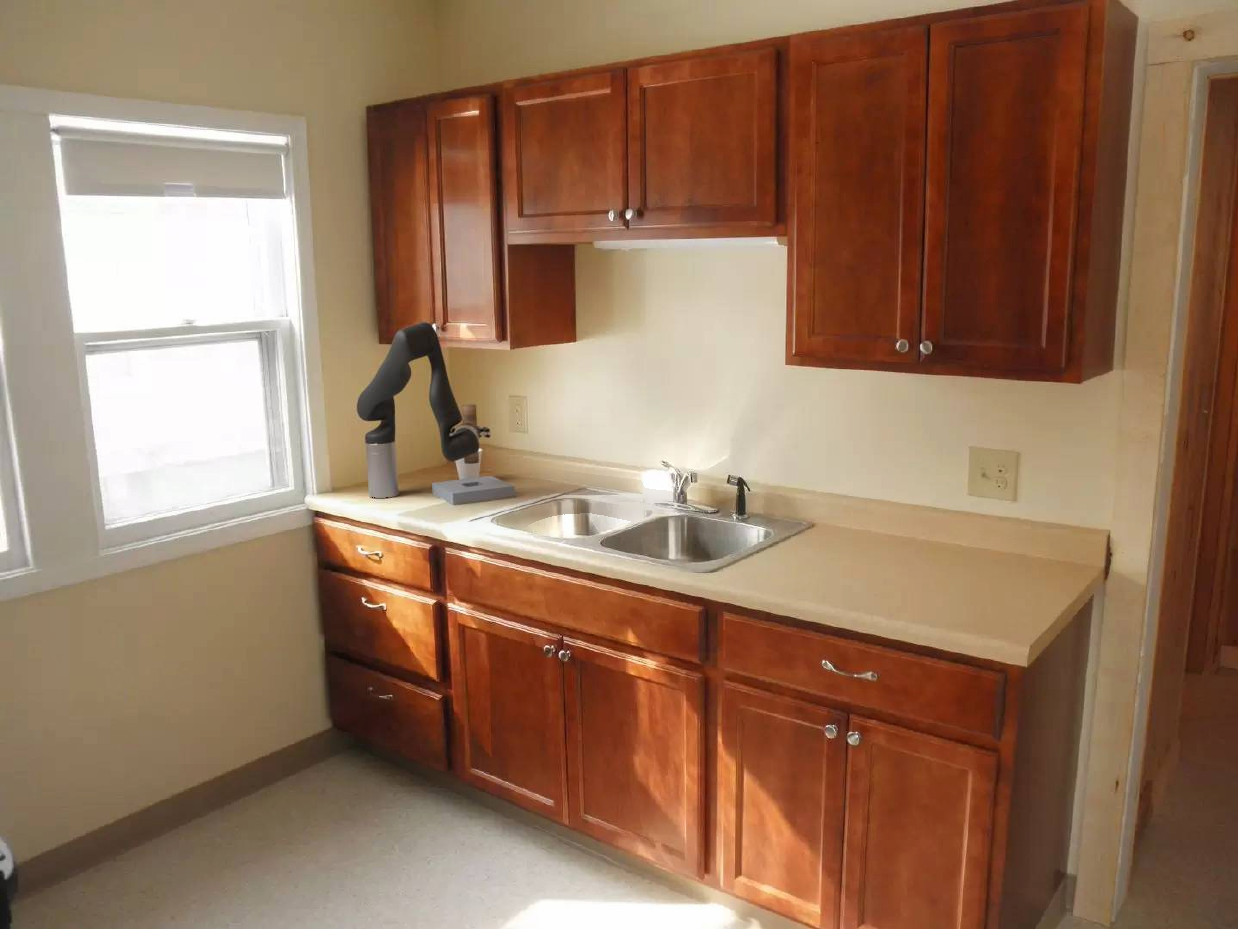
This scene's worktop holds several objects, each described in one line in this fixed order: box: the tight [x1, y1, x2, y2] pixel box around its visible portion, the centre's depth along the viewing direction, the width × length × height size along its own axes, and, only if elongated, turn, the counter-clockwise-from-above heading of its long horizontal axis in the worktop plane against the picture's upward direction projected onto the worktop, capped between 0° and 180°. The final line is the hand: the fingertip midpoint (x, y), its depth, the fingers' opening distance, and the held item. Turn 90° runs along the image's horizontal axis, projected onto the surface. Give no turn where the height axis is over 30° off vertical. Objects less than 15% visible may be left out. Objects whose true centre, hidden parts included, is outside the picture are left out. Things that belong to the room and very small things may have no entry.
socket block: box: [431, 475, 516, 506], centre depth 323 cm, size 20×20×4 cm
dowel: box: [460, 403, 479, 464], centre depth 320 cm, size 4×4×18 cm
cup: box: [454, 448, 484, 480], centre depth 342 cm, size 10×10×11 cm
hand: (470, 429), depth 322 cm, fingers closed on dowel, 4 cm apart
